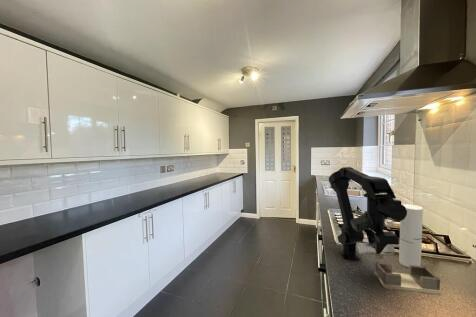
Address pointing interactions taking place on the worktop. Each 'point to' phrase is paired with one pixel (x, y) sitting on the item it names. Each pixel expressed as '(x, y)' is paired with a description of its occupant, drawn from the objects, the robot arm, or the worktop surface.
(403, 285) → the board
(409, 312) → the worktop surface
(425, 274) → the brackets
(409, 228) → the cylindrical container
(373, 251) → the rail
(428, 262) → the worktop surface
